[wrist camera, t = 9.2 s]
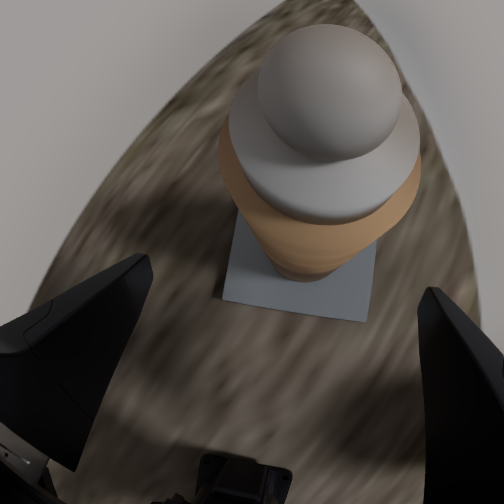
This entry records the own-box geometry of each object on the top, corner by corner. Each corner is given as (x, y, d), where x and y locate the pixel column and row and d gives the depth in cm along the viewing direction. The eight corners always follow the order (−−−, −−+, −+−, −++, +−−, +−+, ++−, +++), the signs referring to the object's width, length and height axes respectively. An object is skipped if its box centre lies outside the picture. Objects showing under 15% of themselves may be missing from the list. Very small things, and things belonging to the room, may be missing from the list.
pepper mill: (336, 290, 18) (500, 242, 3) (256, 272, 18) (115, 160, 4) (351, 212, 18) (459, 10, 3) (275, 195, 19) (224, -31, 4)
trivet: (363, 321, 18) (366, 322, 17) (224, 299, 19) (221, 299, 19) (377, 188, 19) (380, 183, 18) (248, 170, 21) (247, 165, 20)
